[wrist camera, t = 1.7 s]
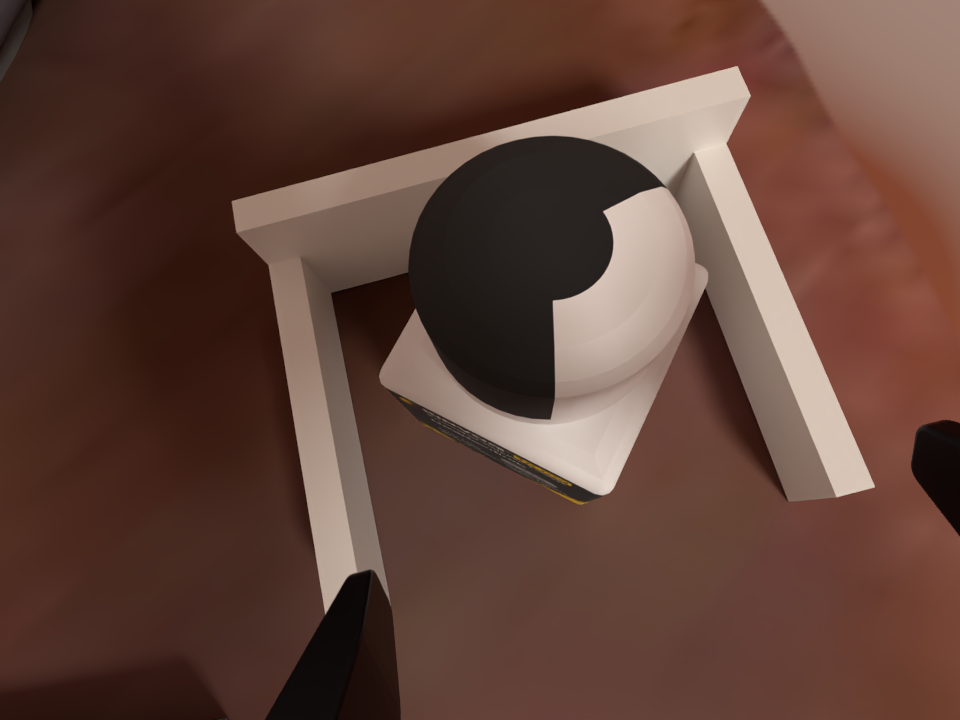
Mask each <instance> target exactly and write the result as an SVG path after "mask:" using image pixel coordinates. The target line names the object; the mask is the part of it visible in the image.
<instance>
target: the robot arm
mask: <svg viewBox="0 0 960 720" xmlns="http://www.w3.org/2000/svg"><path fill="white" fill-rule="evenodd" d="M911 468H912V472H913V475H914V477H915V478H916V480H917V481H918V483H919V484H920V485H921V487H922V488H923V489H924V491H925V492H926V493H927V494H928V496H929V497H930V498H931V500H932V501H933V502H934V503H935V505H936V506H937V507H938V509H939V510H940V511H941V513H942V514H943V515H944V516H945V518H946V519H947V520H948V522H949V523H950V524H951V526H952V527H953V528H954V529H955V531H956V532H957V533H958V535H959V536H960V423H958V422H955V421H951V420H940V421H937V422H933V423H929V424H925V425H922V426H920V427H919V428H918V430H917V431H916V436H915V442H914V448H913V454H912V460H911ZM265 720H401V709H400V695H399V683H398V672H397V661H396V649H395V638H394V627H393V616H392V609H391V605H390V602H389V600H388V597H387V595H386V593H385V591H384V589H383V587H382V584H381V582H380V580H379V578H378V576H377V574H376V572H375V571H374V570H371V569H369V570H365V571H361V572H357V573H353V574H351V575H349V576H348V577H347V578H346V580H345V581H344V583H343V585H342V587H341V588H340V590H339V592H338V593H337V595H336V597H335V599H334V600H333V602H332V604H331V606H330V607H329V609H328V611H327V613H326V614H325V616H324V618H323V620H322V621H321V623H320V625H319V627H318V628H317V630H316V632H315V633H314V635H313V637H312V639H311V640H310V642H309V644H308V646H307V647H306V649H305V651H304V653H303V654H302V656H301V658H300V660H299V661H298V663H297V665H296V666H295V668H294V670H293V672H292V673H291V675H290V677H289V679H288V680H287V682H286V684H285V686H284V687H283V689H282V691H281V693H280V694H279V696H278V698H277V700H276V701H275V703H274V705H273V706H272V708H271V710H270V712H269V713H268V715H267V717H266V719H265Z"/></svg>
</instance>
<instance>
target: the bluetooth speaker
mask: <svg viewBox="0 0 960 720" xmlns="http://www.w3.org/2000/svg"><path fill="white" fill-rule="evenodd" d="M32 15H33V11H32V3H31V0H0V82H1V80H2V79H3V77H4V75H5V73H6V72H7V70H8V68H9V66H10V65H11V63H12V61H13V59H14V58H15V56H16V54H17V52H18V50H19V48H20V46H21V44H22V42H23V39H24V37H25V35H26V33H27V31H28V28H29V25H30V21H31V18H32Z"/></svg>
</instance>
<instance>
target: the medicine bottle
mask: <svg viewBox="0 0 960 720" xmlns="http://www.w3.org/2000/svg"><path fill="white" fill-rule="evenodd" d="M408 273H409V284H410V290H411V294H412V298H413V302H414V306H415V308H416V309H415V310H414V312H413V314H412V316H411V317H410V319H409V321H408V323H407V325H406V326H405V328H404V330H403V332H402V333H401V335H400V337H399V339H398V340H397V342H396V344H395V346H394V347H393V349H392V351H391V353H390V354H389V356H388V358H387V360H386V361H385V363H384V365H383V367H382V368H381V371H380V375H379V378H380V382H381V384H382V385H383V386H384V387H385V388H386V389H387V390H388V391H389V392H390V393H391V394H392V395H394V396H395V397H396V398H397V399H398V400H399V401H400V402H401V403H402V404H403V405H404V406H405V407H406V408H407V409H408V410H409V411H410V412H411V413H412V414H413V415H414V416H415V417H416V418H417V419H418V420H419V421H420V422H421V423H422V424H423V425H425V426H427V427H429V428H431V429H433V430H435V431H436V432H438V433H440V434H442V435H444V436H446V437H448V438H450V439H452V440H454V441H456V442H458V443H460V444H462V445H464V446H466V447H468V448H469V449H471V450H473V451H475V452H477V453H479V454H481V455H483V456H485V457H487V458H489V459H491V460H493V461H495V462H497V463H499V464H501V465H502V466H504V467H506V468H508V469H510V470H512V471H514V472H516V473H518V474H520V475H522V476H524V477H526V478H528V479H530V480H532V481H534V482H535V483H537V484H539V485H541V486H543V487H545V488H547V489H549V490H551V491H553V492H555V493H557V494H559V495H561V496H563V497H565V498H567V499H569V500H570V501H572V502H574V503H576V504H581V505H582V504H585V503H588V502H590V501H592V500H595V499H597V498H599V497H602V496H604V495H606V494H608V493H610V492H611V490H612V489H613V488H614V486H615V484H616V482H617V480H618V478H619V475H620V473H621V471H622V469H623V467H624V464H625V462H626V460H627V458H628V456H629V453H630V451H631V449H632V447H633V445H634V443H635V440H636V438H637V436H638V434H639V432H640V429H641V427H642V425H643V423H644V421H645V418H646V416H647V414H648V412H649V410H650V407H651V405H652V403H653V401H654V399H655V397H656V394H657V392H658V390H659V388H660V386H661V383H662V381H663V379H664V377H665V375H666V372H667V370H668V368H669V366H670V364H671V361H672V359H673V357H674V355H675V353H676V350H677V348H678V346H679V344H680V342H681V340H682V337H683V335H684V333H685V331H686V329H687V326H688V324H689V322H690V320H691V318H692V315H693V313H694V311H695V309H696V307H697V304H698V302H699V300H700V298H701V296H702V293H703V291H704V289H705V287H706V285H707V282H708V272H707V270H706V268H704V267H703V266H701V265H699V264H697V263H695V253H694V247H693V240H692V236H691V233H690V230H689V227H688V224H687V221H686V219H685V217H684V215H683V213H682V211H681V209H680V206H679V204H678V203H677V202H676V200H675V199H674V197H673V196H672V194H671V193H670V191H669V190H668V189H667V188H666V186H665V185H664V184H663V183H662V182H661V181H660V180H659V179H658V178H657V177H656V176H655V175H654V174H653V173H652V172H651V171H649V170H648V169H647V168H646V167H645V166H643V165H642V164H641V163H639V162H638V161H636V160H635V159H633V158H631V157H630V156H628V155H627V154H625V153H623V152H620V151H618V150H616V149H614V148H612V147H610V146H607V145H604V144H601V143H598V142H594V141H591V140H587V139H581V138H576V137H568V136H537V137H529V138H524V139H518V140H514V141H511V142H507V143H504V144H501V145H498V146H495V147H493V148H491V149H489V150H486V151H484V152H482V153H480V154H478V155H477V156H475V157H473V158H472V159H470V160H468V161H467V162H465V163H464V164H463V165H461V166H460V167H459V168H458V169H456V170H455V171H454V172H453V173H451V174H450V175H449V176H448V177H447V178H446V179H445V180H444V181H443V183H442V184H441V185H440V186H439V187H438V188H437V189H436V191H435V192H434V193H433V195H432V196H431V197H430V199H429V200H428V202H427V204H426V205H425V207H424V209H423V211H422V213H421V215H420V216H419V219H418V222H417V224H416V227H415V230H414V232H413V236H412V241H411V245H410V250H409V264H408Z"/></svg>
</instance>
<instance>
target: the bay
mask: <svg viewBox="0 0 960 720" xmlns="http://www.w3.org/2000/svg"><path fill="white" fill-rule="evenodd" d="M750 96H751V95H750V93H749V91H748V89H747V86H746V84H745V82H744V80H743V78H742V76H741V73H740V71H739V69H738V67H737V66H736V67H732V68H729V69H725V70H721V71H717V72H714V73H710V74H706V75H702V76H699V77H695V78H691V79H687V80H684V81H680V82H676V83H672V84H669V85H665V86H661V87H657V88H654V89H650V90H646V91H642V92H639V93H635V94H631V95H628V96H624V97H620V98H616V99H613V100H609V101H605V102H601V103H598V104H594V105H590V106H586V107H583V108H579V109H575V110H571V111H568V112H564V113H560V114H556V115H553V116H549V117H545V118H541V119H538V120H534V121H530V122H526V123H523V124H519V125H515V126H511V127H508V128H504V129H500V130H496V131H493V132H489V133H485V134H481V135H478V136H474V137H470V138H466V139H463V140H459V141H455V142H451V143H448V144H444V145H440V146H437V147H433V148H429V149H425V150H422V151H418V152H414V153H410V154H407V155H403V156H399V157H395V158H392V159H388V160H384V161H380V162H377V163H373V164H369V165H365V166H362V167H358V168H354V169H350V170H347V171H343V172H339V173H335V174H332V175H328V176H324V177H320V178H317V179H313V180H309V181H305V182H302V183H298V184H294V185H290V186H287V187H283V188H279V189H275V190H272V191H268V192H264V193H260V194H257V195H253V196H249V197H246V198H242V199H238V200H234V201H232V207H233V214H234V220H235V227H236V233H237V234H238V235H239V236H240V237H241V238H242V239H243V240H244V241H245V242H246V243H247V244H248V245H249V246H250V247H251V248H252V249H253V250H254V251H255V252H256V253H257V254H258V255H259V256H260V257H261V258H262V259H263V260H264V261H265V262H266V263H267V264H268V265H269V271H270V277H271V283H272V290H273V296H274V302H275V308H276V314H277V320H278V326H279V333H280V339H281V345H282V351H283V357H284V363H285V369H286V376H287V382H288V388H289V394H290V400H291V406H292V412H293V419H294V425H295V431H296V437H297V443H298V449H299V455H300V462H301V468H302V474H303V480H304V486H305V492H306V498H307V505H308V511H309V517H310V523H311V529H312V535H313V541H314V548H315V554H316V560H317V566H318V572H319V578H320V584H321V591H322V597H323V603H324V609H325V614H326V613H327V611H328V609H329V607H330V606H331V604H332V602H333V600H334V599H335V597H336V595H337V593H338V592H339V590H340V588H341V587H342V585H343V583H344V581H345V580H346V578H347V577H348V576H349V575H351V574H353V573H357V572H361V571H365V570H369V569H371V570H374V571H375V572H376V574H377V576H378V578H379V580H380V582H381V584H382V587H383V589H384V591H385V593H386V595H387V597H388V600H389V602H390V597H389V592H388V587H387V581H386V576H385V571H384V566H383V561H382V556H381V550H380V545H379V540H378V535H377V530H376V524H375V519H374V514H373V509H372V504H371V499H370V493H369V488H368V483H367V478H366V473H365V467H364V462H363V457H362V452H361V447H360V442H359V436H358V431H357V426H356V421H355V416H354V410H353V405H352V400H351V395H350V390H349V384H348V379H347V374H346V369H345V364H344V359H343V353H342V348H341V343H340V338H339V333H338V327H337V322H336V317H335V312H334V307H333V302H332V296H331V293H333V292H336V291H340V290H344V289H348V288H351V287H355V286H359V285H363V284H367V283H370V282H374V281H378V280H382V279H385V278H389V277H393V276H397V275H400V274H404V273H408V264H409V250H410V245H411V241H412V236H413V232H414V230H415V227H416V224H417V222H418V219H419V216H420V215H421V213H422V211H423V209H424V207H425V205H426V204H427V202H428V200H429V199H430V197H431V196H432V195H433V193H434V192H435V191H436V189H437V188H438V187H439V186H440V185H441V184H442V183H443V181H444V180H445V179H446V178H447V177H448V176H449V175H450V174H451V173H453V172H454V171H455V170H456V169H458V168H459V167H460V166H461V165H463V164H464V163H465V162H467V161H468V160H470V159H472V158H473V157H475V156H477V155H478V154H480V153H482V152H484V151H486V150H489V149H491V148H493V147H495V146H498V145H501V144H504V143H507V142H511V141H514V140H518V139H524V138H529V137H537V136H568V137H576V138H581V139H587V140H591V141H594V142H598V143H601V144H604V145H607V146H610V147H612V148H614V149H616V150H618V151H620V152H623V153H625V154H627V155H628V156H630V157H631V158H633V159H635V160H636V161H638V162H639V163H641V164H642V165H643V166H645V167H646V168H647V169H648V170H649V171H651V172H652V173H653V174H654V175H655V176H656V177H657V178H658V179H659V180H660V181H661V182H662V183H663V184H664V185H665V186H666V188H667V189H668V190H669V191H670V193H671V194H672V196H673V197H674V199H675V200H676V202H677V203H678V204H679V206H680V209H681V211H682V213H683V215H684V217H685V219H686V221H687V224H688V227H689V230H690V233H691V236H692V240H693V247H694V253H695V263H697V264H699V265H701V266H703V267H704V268H706V270H707V272H708V282H707V285H706V287H705V289H706V291H707V294H708V296H709V299H710V301H711V304H712V307H713V309H714V312H715V314H716V317H717V319H718V322H719V325H720V327H721V330H722V332H723V335H724V337H725V340H726V343H727V345H728V348H729V350H730V353H731V355H732V358H733V360H734V363H735V366H736V368H737V371H738V373H739V376H740V378H741V381H742V384H743V386H744V389H745V391H746V394H747V396H748V399H749V402H750V404H751V407H752V409H753V412H754V414H755V417H756V420H757V422H758V425H759V427H760V430H761V432H762V435H763V438H764V440H765V443H766V445H767V448H768V450H769V453H770V455H771V458H772V461H773V463H774V466H775V468H776V471H777V473H778V476H779V479H780V481H781V484H782V486H783V489H784V491H785V494H786V497H787V499H788V502H793V501H803V500H813V499H823V498H833V497H839V496H843V495H847V494H851V493H854V492H858V491H862V490H866V489H870V488H874V487H875V486H874V484H873V481H872V479H871V477H870V474H869V472H868V470H867V467H866V465H865V463H864V460H863V458H862V456H861V454H860V451H859V449H858V447H857V444H856V442H855V440H854V437H853V435H852V433H851V430H850V428H849V426H848V424H847V421H846V419H845V417H844V414H843V412H842V410H841V407H840V405H839V403H838V400H837V398H836V396H835V393H834V391H833V389H832V387H831V384H830V382H829V380H828V377H827V375H826V373H825V370H824V368H823V366H822V363H821V361H820V359H819V357H818V354H817V352H816V350H815V347H814V345H813V343H812V340H811V338H810V336H809V333H808V331H807V329H806V327H805V324H804V322H803V320H802V317H801V315H800V313H799V310H798V308H797V306H796V303H795V301H794V299H793V297H792V294H791V292H790V290H789V287H788V285H787V283H786V280H785V278H784V276H783V273H782V271H781V269H780V267H779V264H778V262H777V260H776V257H775V255H774V253H773V250H772V248H771V246H770V243H769V241H768V239H767V237H766V234H765V232H764V230H763V227H762V225H761V223H760V220H759V218H758V216H757V213H756V211H755V209H754V207H753V204H752V202H751V200H750V197H749V195H748V193H747V190H746V188H745V186H744V183H743V181H742V179H741V176H740V174H739V172H738V170H737V167H736V165H735V163H734V160H733V158H732V156H731V153H730V151H729V149H728V146H727V144H726V143H727V141H728V139H729V137H730V135H731V133H732V131H733V129H734V127H735V125H736V123H737V121H738V120H739V118H740V116H741V114H742V112H743V110H744V108H745V106H746V104H747V102H748V100H749V98H750ZM390 605H391V602H390Z"/></svg>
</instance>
